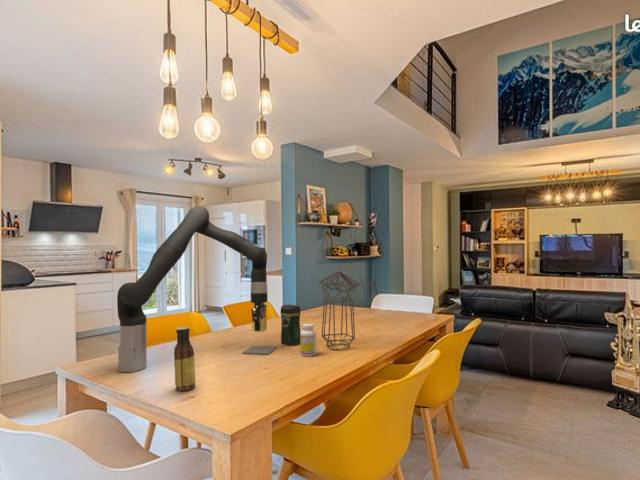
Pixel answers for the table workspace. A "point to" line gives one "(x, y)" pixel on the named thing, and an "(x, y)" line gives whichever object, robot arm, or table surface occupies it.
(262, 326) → the cube
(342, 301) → the geometric lantern
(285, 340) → the coffee jar
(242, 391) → the table surface
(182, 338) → the sauce bottle
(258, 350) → the coaster
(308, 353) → the supplement bottle
